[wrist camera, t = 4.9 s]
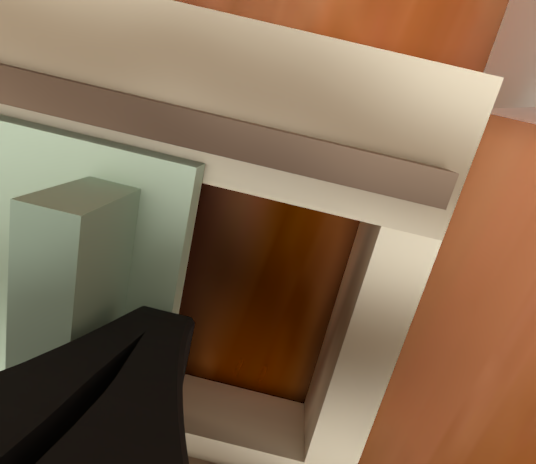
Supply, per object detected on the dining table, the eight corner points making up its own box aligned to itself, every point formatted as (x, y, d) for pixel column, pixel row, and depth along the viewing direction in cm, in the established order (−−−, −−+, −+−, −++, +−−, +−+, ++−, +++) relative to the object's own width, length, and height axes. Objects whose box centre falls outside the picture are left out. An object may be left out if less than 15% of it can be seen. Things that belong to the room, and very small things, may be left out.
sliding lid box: (317, 491, 15) (321, 589, 12) (-130, 378, 15) (-241, 446, 12) (459, 85, 11) (524, 73, 8) (-171, -63, 11) (-360, -132, 8)
